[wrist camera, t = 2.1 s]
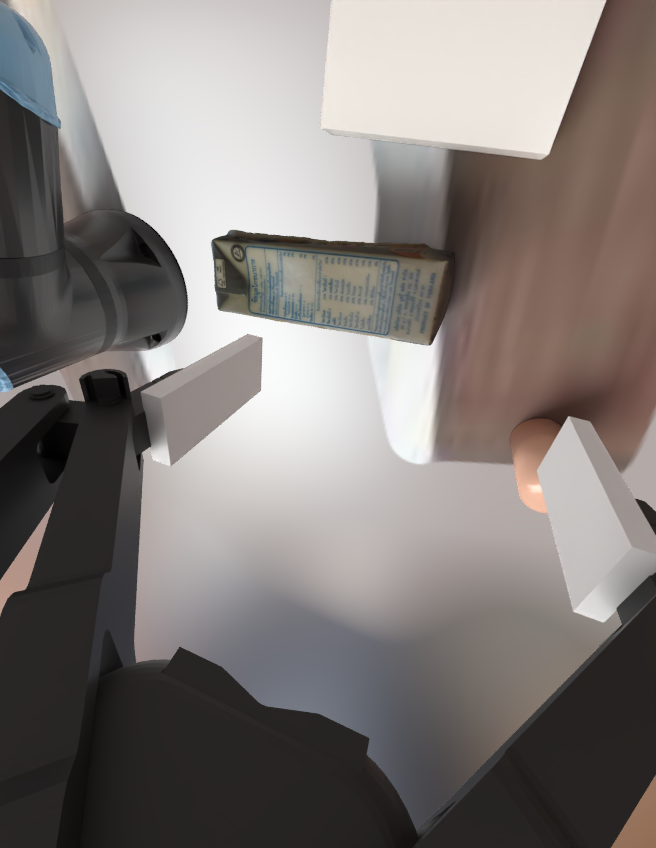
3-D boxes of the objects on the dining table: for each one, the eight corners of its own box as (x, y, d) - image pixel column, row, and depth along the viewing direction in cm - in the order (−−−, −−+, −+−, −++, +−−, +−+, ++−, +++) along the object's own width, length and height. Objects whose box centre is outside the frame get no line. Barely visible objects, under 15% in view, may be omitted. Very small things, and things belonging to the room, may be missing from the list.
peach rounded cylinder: (501, 452, 38) (509, 502, 31) (521, 412, 35) (534, 458, 29) (552, 466, 37) (570, 521, 30) (576, 426, 34) (602, 477, 28)
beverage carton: (258, 295, 38) (256, 224, 34) (443, 325, 33) (462, 246, 30) (214, 313, 31) (205, 227, 28) (435, 353, 27) (458, 256, 23)
